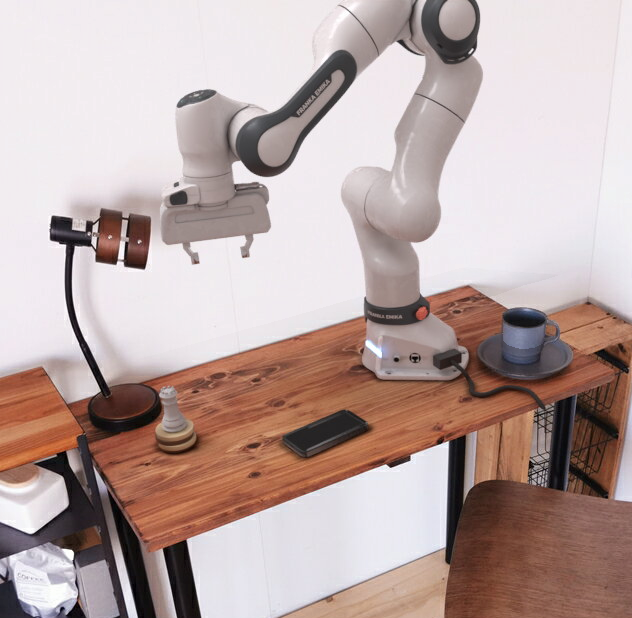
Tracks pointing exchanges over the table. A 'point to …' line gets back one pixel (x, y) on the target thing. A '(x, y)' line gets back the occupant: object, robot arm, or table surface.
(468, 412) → the table surface
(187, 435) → the chip pile
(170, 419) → the rook chess piece
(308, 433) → the phone
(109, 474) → the table surface
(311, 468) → the table surface
